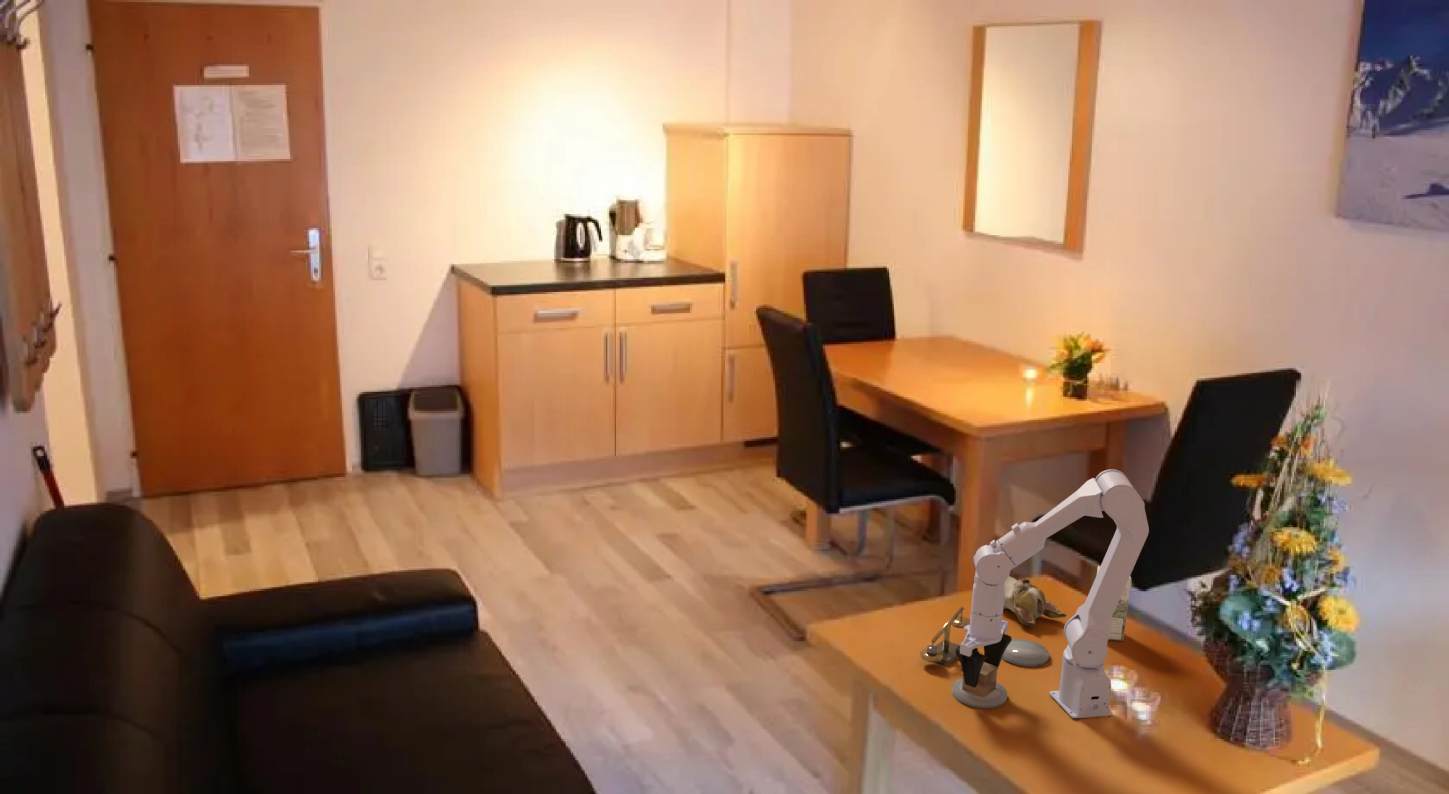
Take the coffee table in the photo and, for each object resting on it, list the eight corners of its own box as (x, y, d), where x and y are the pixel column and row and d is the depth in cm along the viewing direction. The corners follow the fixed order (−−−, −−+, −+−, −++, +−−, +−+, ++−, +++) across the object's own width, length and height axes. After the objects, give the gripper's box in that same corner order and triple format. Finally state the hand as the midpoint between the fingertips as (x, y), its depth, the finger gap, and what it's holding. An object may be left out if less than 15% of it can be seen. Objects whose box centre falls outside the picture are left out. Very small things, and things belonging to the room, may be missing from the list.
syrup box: (1117, 629, 251) (1125, 565, 247) (1123, 642, 245) (1131, 576, 242) (1090, 628, 251) (1097, 563, 248) (1095, 640, 246) (1103, 574, 242)
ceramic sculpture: (1021, 562, 263) (1072, 590, 250) (1016, 597, 265) (1066, 627, 253) (985, 571, 257) (1036, 600, 245) (981, 607, 260) (1030, 638, 248)
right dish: (1057, 664, 234) (1057, 659, 234) (1010, 668, 232) (1010, 662, 232) (1034, 642, 244) (1035, 637, 244) (989, 645, 242) (989, 640, 242)
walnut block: (974, 681, 224) (975, 659, 223) (995, 689, 222) (997, 666, 221) (962, 689, 221) (963, 667, 220) (983, 697, 218) (985, 675, 217)
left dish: (1015, 706, 218) (1016, 700, 217) (964, 710, 216) (965, 704, 215) (993, 680, 227) (993, 675, 227) (944, 683, 225) (944, 678, 225)
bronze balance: (953, 637, 245) (956, 599, 243) (975, 645, 242) (978, 606, 240) (914, 664, 233) (917, 625, 230) (936, 672, 230) (940, 632, 227)
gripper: (986, 592, 225) (980, 658, 229) (947, 616, 214) (941, 684, 218) (1020, 603, 221) (1014, 670, 224) (982, 628, 210) (976, 697, 213)
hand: (980, 678), depth 221 cm, fingers open, 7 cm apart
